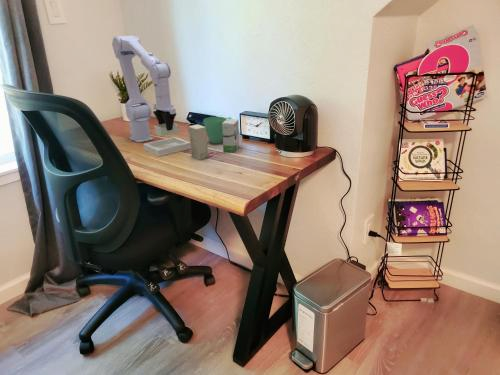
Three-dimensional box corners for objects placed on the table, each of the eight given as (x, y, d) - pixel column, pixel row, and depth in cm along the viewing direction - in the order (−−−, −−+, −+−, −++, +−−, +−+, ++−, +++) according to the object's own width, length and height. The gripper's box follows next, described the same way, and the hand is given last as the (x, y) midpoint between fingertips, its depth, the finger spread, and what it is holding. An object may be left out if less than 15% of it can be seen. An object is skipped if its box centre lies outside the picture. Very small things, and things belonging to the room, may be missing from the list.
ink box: (234, 152, 156) (233, 123, 152) (223, 152, 157) (221, 123, 153) (239, 146, 164) (238, 118, 160) (228, 145, 165) (227, 118, 161)
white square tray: (144, 149, 163) (143, 143, 162) (175, 142, 172) (175, 136, 171) (158, 156, 154) (157, 150, 153) (191, 148, 163) (190, 142, 162)
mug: (214, 146, 164) (212, 123, 160) (200, 142, 171) (198, 119, 167) (240, 139, 174) (239, 117, 170) (226, 135, 180) (225, 113, 176)
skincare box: (208, 157, 152) (206, 126, 147) (198, 160, 149) (196, 129, 144) (200, 153, 156) (198, 123, 151) (190, 156, 154) (188, 125, 149)
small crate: (155, 134, 160) (154, 125, 159) (172, 130, 165) (171, 122, 164) (161, 136, 157) (160, 128, 155) (178, 132, 162) (177, 124, 160)
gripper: (181, 96, 152) (184, 130, 157) (162, 92, 162) (166, 124, 168) (164, 98, 148) (168, 133, 153) (146, 94, 158) (151, 127, 163)
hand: (166, 128), depth 160 cm, fingers closed on small crate, 5 cm apart
